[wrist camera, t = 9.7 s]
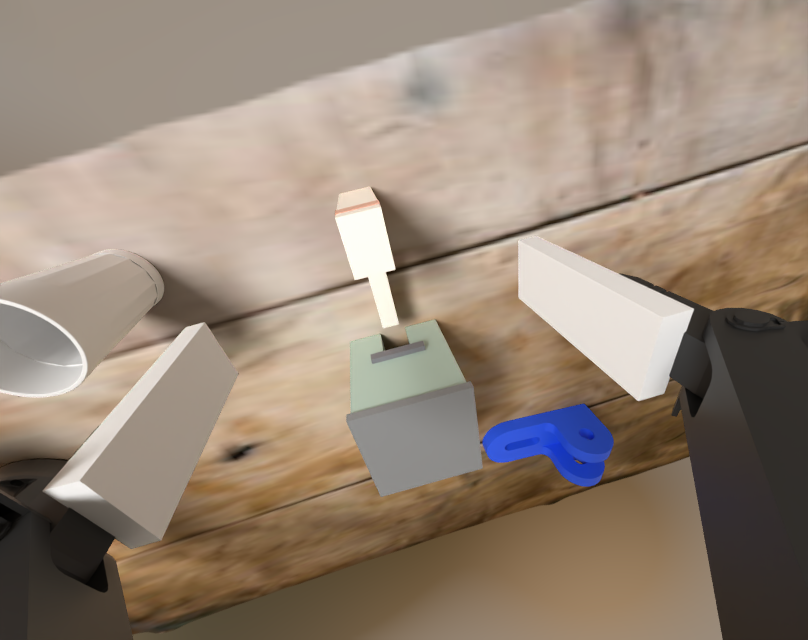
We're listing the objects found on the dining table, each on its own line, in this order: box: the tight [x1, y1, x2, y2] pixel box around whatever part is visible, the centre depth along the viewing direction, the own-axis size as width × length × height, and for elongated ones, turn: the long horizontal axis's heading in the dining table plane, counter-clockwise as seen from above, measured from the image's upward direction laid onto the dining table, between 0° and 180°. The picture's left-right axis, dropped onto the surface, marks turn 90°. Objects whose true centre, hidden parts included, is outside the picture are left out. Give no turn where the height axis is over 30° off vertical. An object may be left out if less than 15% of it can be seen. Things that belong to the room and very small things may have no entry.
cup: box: [0, 249, 164, 397], centre depth 25 cm, size 8×8×12 cm
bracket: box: [483, 404, 614, 486], centre depth 49 cm, size 18×8×9 cm, turn 98°
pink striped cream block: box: [335, 186, 399, 328], centre depth 27 cm, size 14×3×11 cm, turn 12°
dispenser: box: [346, 319, 482, 497], centre depth 35 cm, size 13×12×13 cm
